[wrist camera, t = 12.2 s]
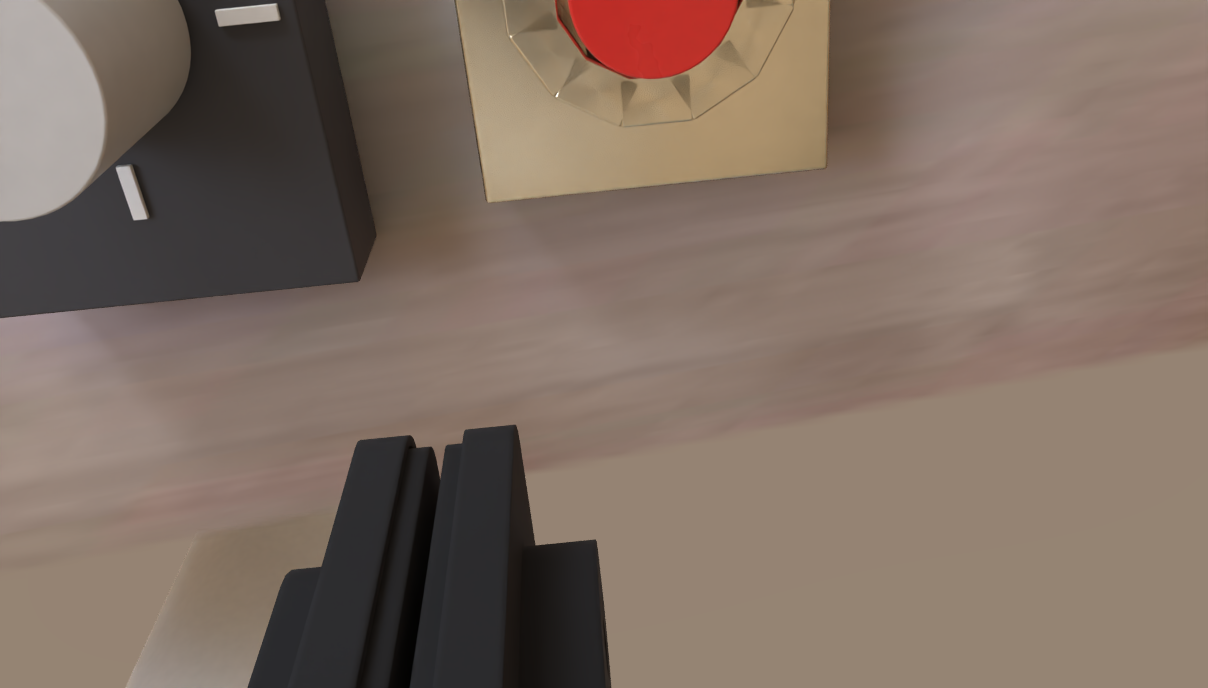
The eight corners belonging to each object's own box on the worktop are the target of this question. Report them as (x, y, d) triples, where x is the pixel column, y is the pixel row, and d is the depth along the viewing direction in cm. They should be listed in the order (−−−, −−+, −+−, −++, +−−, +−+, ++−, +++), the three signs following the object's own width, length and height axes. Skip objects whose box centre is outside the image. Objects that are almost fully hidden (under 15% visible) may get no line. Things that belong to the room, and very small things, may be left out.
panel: (377, 236, 29) (359, 285, 27) (33, 271, 29) (-20, 323, 27) (249, -346, 22) (208, -361, 20) (-201, -299, 22) (-306, -308, 20)
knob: (156, -95, 22) (48, -55, 17) (216, 129, 25) (135, 218, 20) (-75, -76, 22) (-248, -32, 17) (8, 146, 24) (-122, 239, 20)
